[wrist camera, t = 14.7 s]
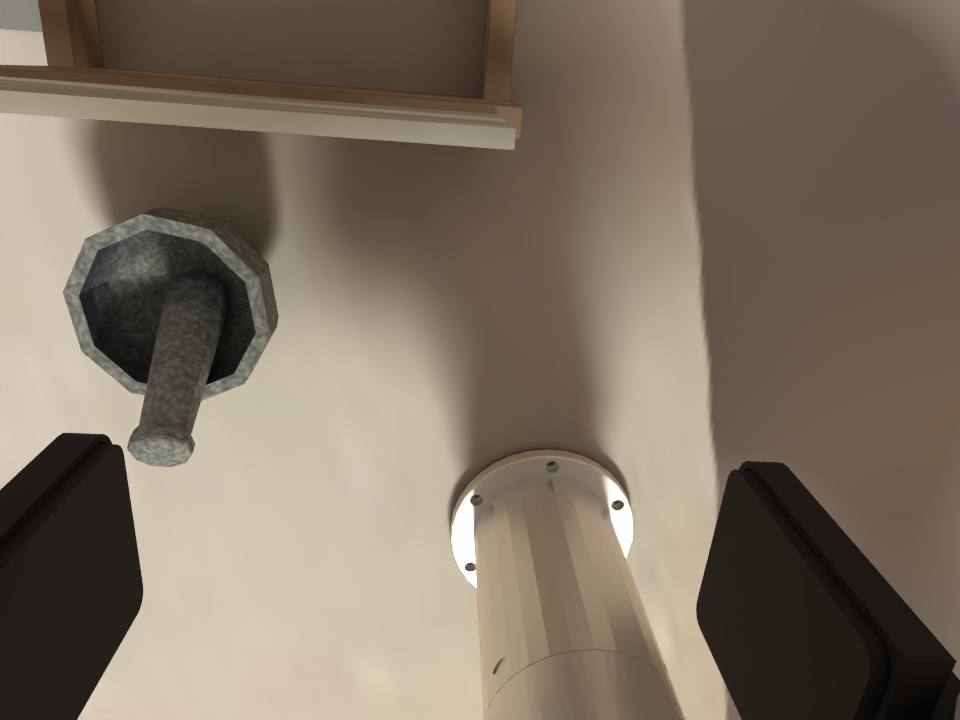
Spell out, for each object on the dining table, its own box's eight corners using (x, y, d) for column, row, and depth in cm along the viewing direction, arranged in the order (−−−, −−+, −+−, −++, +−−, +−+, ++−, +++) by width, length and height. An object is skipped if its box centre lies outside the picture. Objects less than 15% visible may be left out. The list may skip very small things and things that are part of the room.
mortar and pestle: (108, 196, 38) (-32, 247, 27) (278, 184, 38) (208, 229, 27) (159, 381, 42) (56, 490, 31) (311, 369, 42) (263, 473, 31)
